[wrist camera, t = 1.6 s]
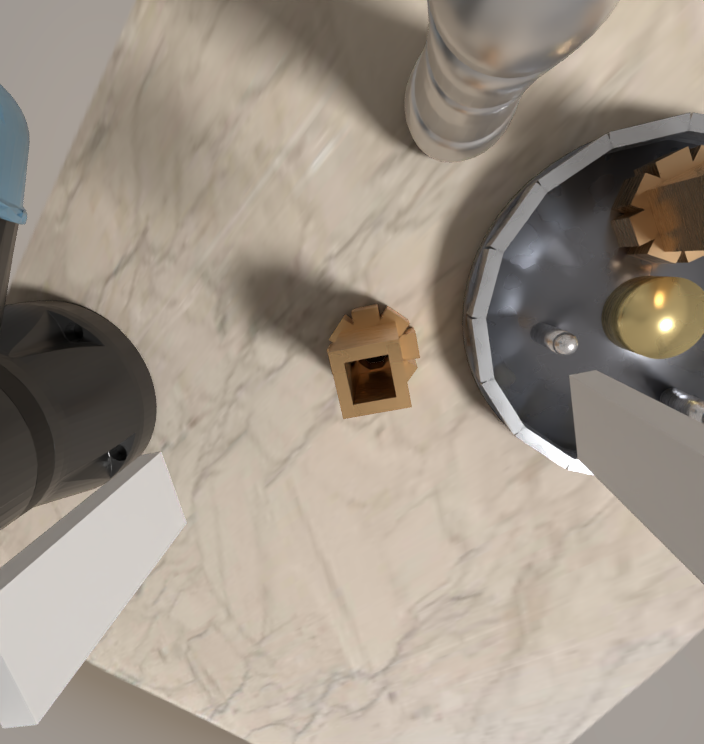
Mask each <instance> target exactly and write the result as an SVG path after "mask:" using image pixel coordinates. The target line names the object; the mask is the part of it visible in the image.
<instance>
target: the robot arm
mask: <svg viewBox="0 0 704 744" xmlns="http://www.w3.org/2000/svg"><path fill="white" fill-rule="evenodd" d="M28 152H29V130H28V126H27V122H26V120H25V117H24V115H23V113H22V111H21V109H20V107H19V106H18V104H17V103H16V101H15V100H14V99H13V97H12V96H11V95H10V94H9V93H8V92H7V91H6V89H5V88H3V86H2V85H0V530H2V529H3V528H5V527H6V526H7V525H9V524H10V523H11V522H13V521H14V520H16V519H17V518H18V517H20V516H21V515H23V514H24V513H26V512H27V511H28V510H30V509H31V508H33V507H36V506H39V505H43V504H46V503H49V502H52V501H56V500H59V499H62V498H66V497H69V496H72V495H76V494H79V493H82V492H85V491H89V490H92V489H95V488H97V487H99V486H101V485H103V484H104V485H103V486H102V487H100V488H99V489H98V490H97V491H95V492H94V493H93V494H92V495H90V496H89V497H88V498H87V499H85V500H84V501H83V502H82V503H80V504H79V505H78V506H77V507H76V508H74V509H73V510H72V511H71V512H69V513H68V514H67V515H66V516H64V517H63V518H62V519H61V520H59V521H58V522H57V523H56V524H54V525H53V526H52V527H51V528H49V529H48V530H47V531H46V532H44V533H43V534H42V535H41V536H39V537H38V538H37V539H36V540H34V541H33V542H32V543H31V544H29V545H28V546H27V547H26V548H25V549H23V550H22V551H21V552H20V553H18V554H17V555H16V556H15V557H13V558H12V559H11V560H10V561H8V562H7V563H6V564H5V565H3V566H2V567H1V568H0V724H1V726H2V727H3V728H12V727H21V726H30V725H37V724H38V723H39V722H40V720H41V719H42V718H43V716H44V715H45V714H46V712H47V711H48V710H49V708H50V707H51V705H52V704H53V703H54V701H55V700H56V699H57V697H58V696H59V695H60V693H61V692H62V691H63V689H64V688H65V686H66V685H67V684H68V683H69V681H70V680H71V679H72V677H73V676H74V674H75V673H76V672H77V670H78V669H79V668H80V666H81V665H82V663H83V662H84V661H85V660H86V658H87V657H88V656H89V654H90V653H91V652H92V650H93V649H94V648H95V646H96V645H97V644H98V642H99V641H100V639H101V638H102V637H103V635H104V634H105V633H106V631H107V630H108V629H109V627H110V626H111V625H112V623H113V622H114V621H115V619H116V618H117V617H118V615H119V614H120V613H121V611H122V610H123V608H124V607H125V606H126V604H127V603H128V602H129V600H130V599H131V598H132V596H133V595H134V594H135V592H136V591H137V590H138V588H139V587H140V586H141V584H142V583H143V582H144V580H145V579H146V578H147V576H148V575H149V573H150V572H151V571H152V569H153V568H154V567H155V565H156V564H157V563H158V561H159V560H160V559H161V557H162V556H163V555H164V553H165V552H166V551H167V549H168V548H169V547H170V545H171V544H172V543H173V541H174V540H175V538H176V537H177V536H178V534H179V533H180V532H181V530H182V529H183V528H184V526H185V525H186V524H187V522H186V519H185V516H184V513H183V511H182V508H181V505H180V502H179V499H178V497H177V494H176V491H175V488H174V485H173V482H172V480H171V477H170V474H169V471H168V468H167V466H166V463H165V460H164V457H163V454H162V451H161V452H156V453H150V454H145V455H141V454H142V453H143V451H144V450H145V448H146V447H147V445H148V443H149V441H150V439H151V436H152V433H153V430H154V426H155V421H156V396H155V390H154V386H153V382H152V379H151V376H150V373H149V371H148V369H147V366H146V364H145V362H144V361H143V359H142V357H141V356H140V354H139V352H138V351H137V349H136V348H135V347H134V345H133V344H132V343H131V342H130V340H129V339H128V338H127V337H126V336H125V335H124V334H123V333H122V332H121V331H120V330H119V329H118V328H116V327H115V326H114V325H113V324H112V323H110V322H109V321H107V320H106V319H104V318H103V317H101V316H100V315H98V314H96V313H94V312H92V311H90V310H88V309H86V308H83V307H81V306H78V305H74V304H71V303H66V302H61V301H50V300H45V301H33V302H24V303H15V304H10V305H6V306H5V301H6V295H7V288H8V282H9V276H10V270H11V264H12V257H13V252H14V246H15V241H16V236H17V230H18V225H19V224H25V223H26V219H27V212H26V210H25V209H24V207H23V200H24V199H23V198H24V190H25V181H26V170H27V161H28ZM569 378H570V388H571V398H572V408H573V417H574V427H575V437H576V446H577V456H578V460H579V461H580V462H581V463H582V464H583V465H584V466H585V467H586V468H587V469H588V470H589V471H590V472H591V473H592V474H593V475H594V476H596V477H597V478H598V479H599V480H600V481H601V482H602V483H603V484H604V485H605V486H606V487H607V488H608V489H609V490H610V491H611V492H612V493H613V494H614V495H615V496H616V497H617V498H618V499H619V500H620V501H621V502H622V503H623V504H624V505H625V506H626V507H627V508H628V509H629V510H630V511H631V512H632V513H633V514H634V515H635V516H636V517H637V518H638V519H639V520H640V521H641V522H642V523H643V524H644V525H645V526H646V527H647V528H648V529H649V530H650V531H651V532H652V533H653V534H654V535H655V536H656V537H657V538H658V539H659V540H660V541H661V542H662V543H663V544H664V545H665V546H666V547H667V548H668V549H669V550H670V551H671V552H672V553H673V554H674V555H675V556H676V557H677V558H678V559H679V560H680V561H681V562H682V563H683V564H684V565H685V566H686V567H687V568H688V569H689V570H690V571H691V572H692V573H693V574H694V575H695V576H696V577H697V578H698V579H699V580H700V581H701V582H702V583H703V584H704V424H703V423H701V422H699V421H697V420H695V419H693V418H691V417H689V416H687V415H685V414H683V413H681V412H679V411H677V410H675V409H673V408H671V407H669V406H667V405H665V404H663V403H661V402H659V401H657V400H655V399H653V398H651V397H649V396H647V395H645V394H643V393H641V392H639V391H637V390H635V389H633V388H631V387H629V386H627V385H625V384H623V383H621V382H619V381H617V380H615V379H613V378H611V377H609V376H607V375H605V374H603V373H601V372H599V371H597V370H594V371H589V372H583V373H578V374H573V375H569Z"/></svg>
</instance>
